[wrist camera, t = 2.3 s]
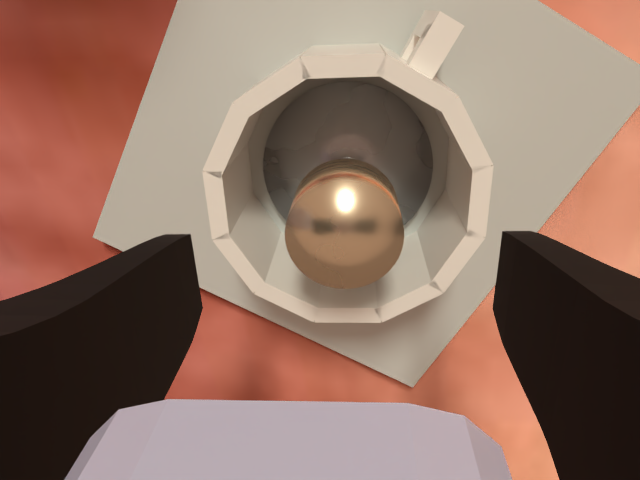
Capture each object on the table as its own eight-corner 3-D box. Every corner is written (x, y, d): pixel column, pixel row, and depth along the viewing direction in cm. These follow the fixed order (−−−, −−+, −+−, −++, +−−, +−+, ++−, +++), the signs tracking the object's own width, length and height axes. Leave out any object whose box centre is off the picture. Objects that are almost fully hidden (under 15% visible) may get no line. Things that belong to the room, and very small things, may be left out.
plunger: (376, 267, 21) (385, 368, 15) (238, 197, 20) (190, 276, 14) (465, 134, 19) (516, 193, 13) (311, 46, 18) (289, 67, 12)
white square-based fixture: (410, 376, 25) (423, 459, 20) (101, 229, 22) (36, 286, 18) (648, 74, 18) (746, 97, 14) (248, -176, 16) (206, -249, 11)
